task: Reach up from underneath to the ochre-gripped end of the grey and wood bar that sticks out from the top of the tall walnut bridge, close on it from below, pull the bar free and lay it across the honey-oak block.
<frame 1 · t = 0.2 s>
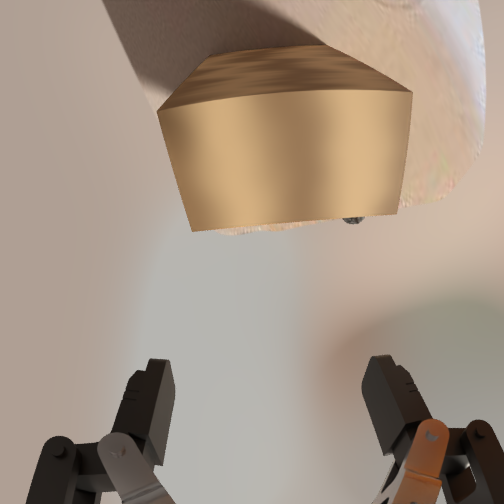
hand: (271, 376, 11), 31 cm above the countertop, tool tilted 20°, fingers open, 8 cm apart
oak block: (272, 80, 31), on the countertop
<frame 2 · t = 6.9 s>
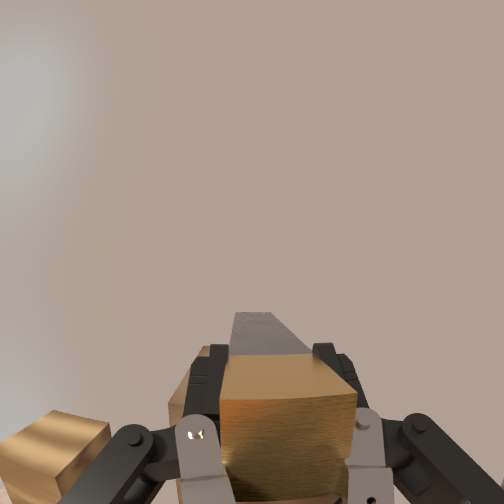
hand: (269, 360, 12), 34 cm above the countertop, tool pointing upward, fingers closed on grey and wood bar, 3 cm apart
grey and wood bar: (260, 382, 19), point 31 cm above the countertop, touching gripper, walnut bridge
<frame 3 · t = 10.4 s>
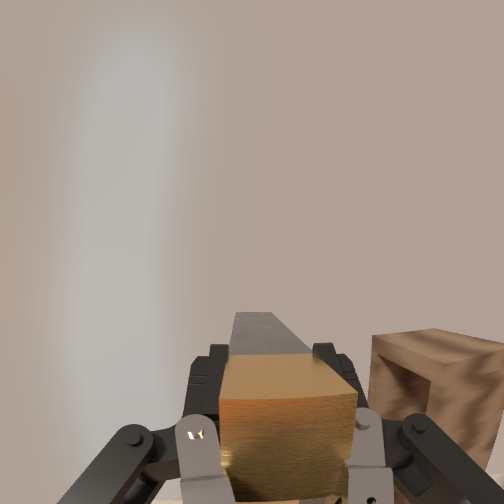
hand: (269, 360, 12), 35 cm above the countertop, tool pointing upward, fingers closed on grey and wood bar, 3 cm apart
grey and wood bar: (260, 382, 19), point 32 cm above the countertop, touching gripper
when the fingers open (26 cm above the countertop, at t = 14.0 s): grey and wood bar drops 2 cm, resting on oak block.
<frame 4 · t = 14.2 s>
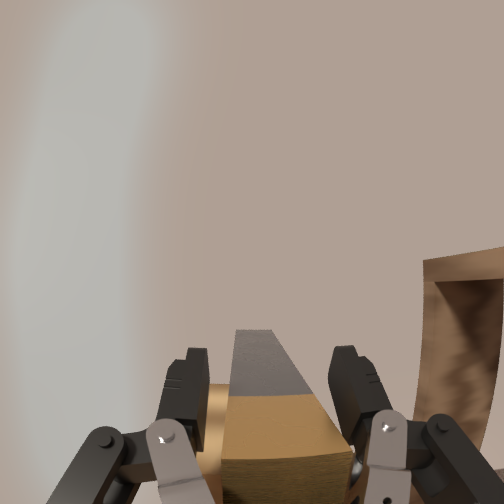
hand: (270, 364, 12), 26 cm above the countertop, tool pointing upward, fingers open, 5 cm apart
grey and wood bar: (260, 407, 18), point 21 cm above the countertop, touching oak block
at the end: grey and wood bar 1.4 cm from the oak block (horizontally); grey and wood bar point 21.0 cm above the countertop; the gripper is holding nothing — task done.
